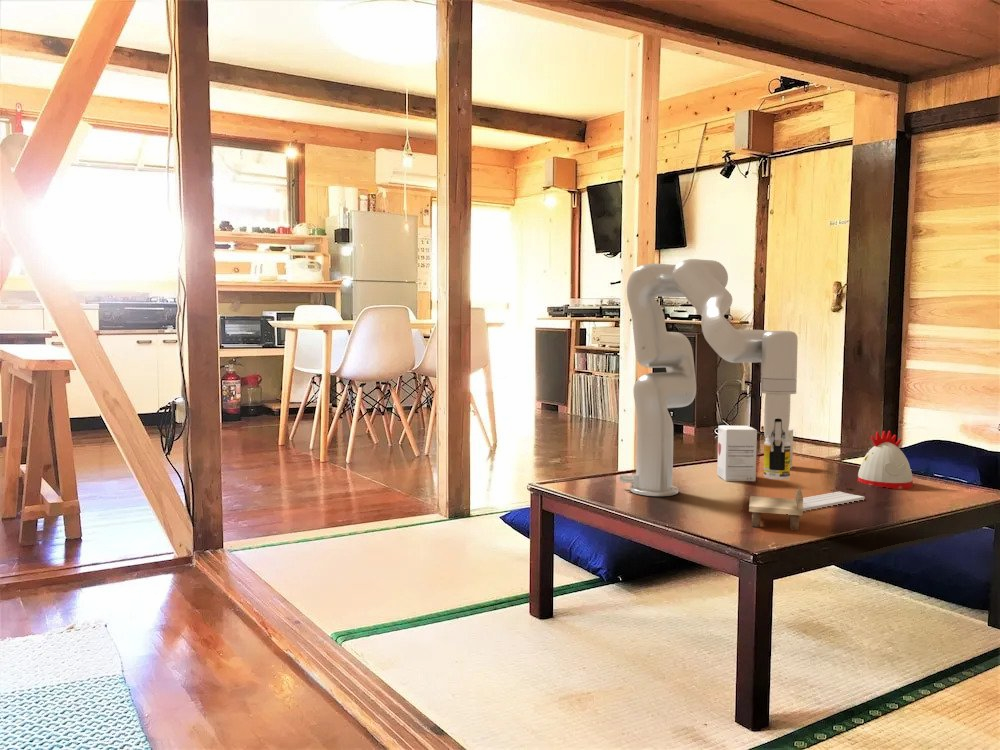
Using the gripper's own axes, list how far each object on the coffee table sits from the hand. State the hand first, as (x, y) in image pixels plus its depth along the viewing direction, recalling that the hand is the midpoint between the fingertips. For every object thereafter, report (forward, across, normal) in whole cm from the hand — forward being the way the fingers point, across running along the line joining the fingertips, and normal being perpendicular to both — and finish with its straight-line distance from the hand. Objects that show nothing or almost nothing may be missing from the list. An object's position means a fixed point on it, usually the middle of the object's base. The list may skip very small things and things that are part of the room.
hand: (776, 466), depth 179 cm
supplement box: (+13, -52, -10) cm, 55 cm away
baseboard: (+14, -25, +8) cm, 30 cm away
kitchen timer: (+13, -58, +30) cm, 67 cm away
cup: (+13, -76, +2) cm, 77 cm away
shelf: (+13, 0, 0) cm, 13 cm away
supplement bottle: (+3, 0, 0) cm, 3 cm away
